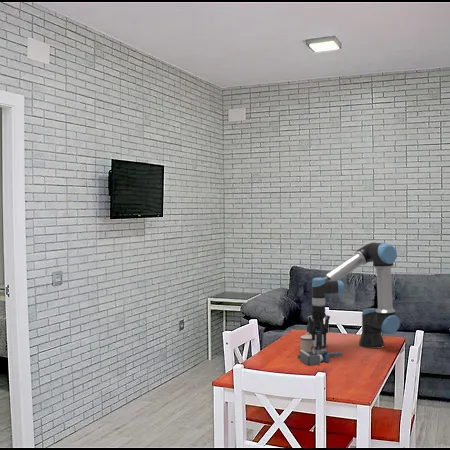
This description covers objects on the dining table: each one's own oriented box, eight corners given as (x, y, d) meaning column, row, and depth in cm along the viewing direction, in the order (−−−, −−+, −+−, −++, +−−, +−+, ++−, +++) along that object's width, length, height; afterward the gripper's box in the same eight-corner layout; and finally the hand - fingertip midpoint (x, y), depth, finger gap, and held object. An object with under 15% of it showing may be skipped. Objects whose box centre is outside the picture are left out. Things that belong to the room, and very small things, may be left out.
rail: (340, 355, 350) (340, 352, 350) (342, 356, 348) (342, 352, 348) (297, 358, 343) (297, 354, 343) (298, 358, 341) (298, 355, 341)
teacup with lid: (314, 354, 351) (314, 334, 351) (298, 353, 354) (299, 333, 354) (317, 350, 363) (317, 330, 363) (302, 349, 365) (302, 330, 365)
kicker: (321, 355, 348) (321, 330, 347) (332, 361, 334) (332, 335, 333) (311, 356, 346) (312, 331, 346) (322, 362, 332) (322, 336, 332)
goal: (311, 359, 339) (311, 349, 339) (320, 364, 328) (320, 354, 328) (300, 360, 337) (300, 350, 337) (307, 365, 326) (308, 354, 326)
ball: (313, 356, 335) (316, 362, 336) (316, 357, 332) (319, 364, 332) (319, 352, 336) (322, 358, 337) (322, 354, 332) (325, 360, 333)
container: (326, 344, 379) (326, 318, 378) (326, 349, 367) (326, 322, 366) (307, 343, 381) (307, 317, 380) (306, 348, 369) (306, 322, 368)
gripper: (329, 303, 350) (328, 343, 351) (302, 304, 346) (302, 345, 346) (334, 305, 343) (334, 346, 343) (307, 306, 338) (307, 348, 339)
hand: (318, 345), depth 345 cm, fingers closed on kicker, 4 cm apart
